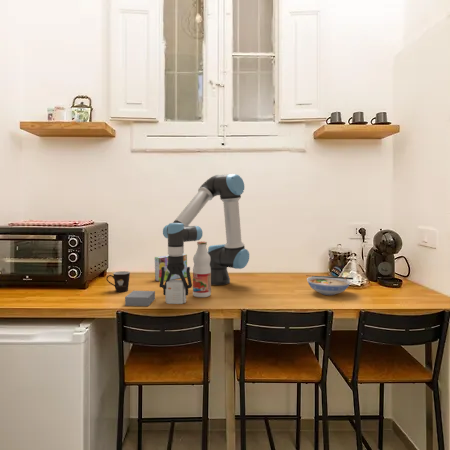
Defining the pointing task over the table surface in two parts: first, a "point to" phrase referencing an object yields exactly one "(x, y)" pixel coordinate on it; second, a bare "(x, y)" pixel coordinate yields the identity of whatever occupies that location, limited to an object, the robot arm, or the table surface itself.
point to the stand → (140, 298)
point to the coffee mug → (120, 280)
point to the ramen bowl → (329, 284)
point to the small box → (175, 292)
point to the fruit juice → (201, 271)
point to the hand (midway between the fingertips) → (175, 301)
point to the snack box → (162, 262)
